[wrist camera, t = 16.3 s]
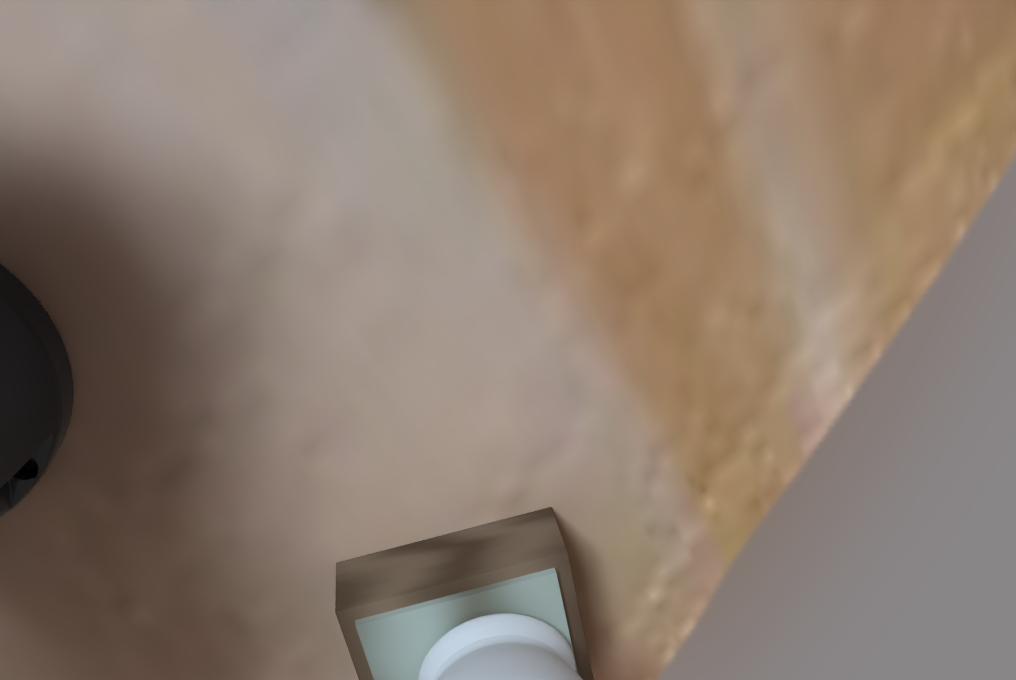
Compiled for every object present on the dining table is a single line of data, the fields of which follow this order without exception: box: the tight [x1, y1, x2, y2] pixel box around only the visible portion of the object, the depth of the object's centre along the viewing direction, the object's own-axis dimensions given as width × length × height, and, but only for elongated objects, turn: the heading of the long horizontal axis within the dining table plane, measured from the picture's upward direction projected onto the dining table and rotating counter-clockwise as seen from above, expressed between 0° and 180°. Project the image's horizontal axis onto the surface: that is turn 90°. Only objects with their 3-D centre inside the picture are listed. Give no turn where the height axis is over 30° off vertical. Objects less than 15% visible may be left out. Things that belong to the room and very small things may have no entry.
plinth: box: [335, 507, 594, 680], centre depth 51 cm, size 12×12×4 cm
